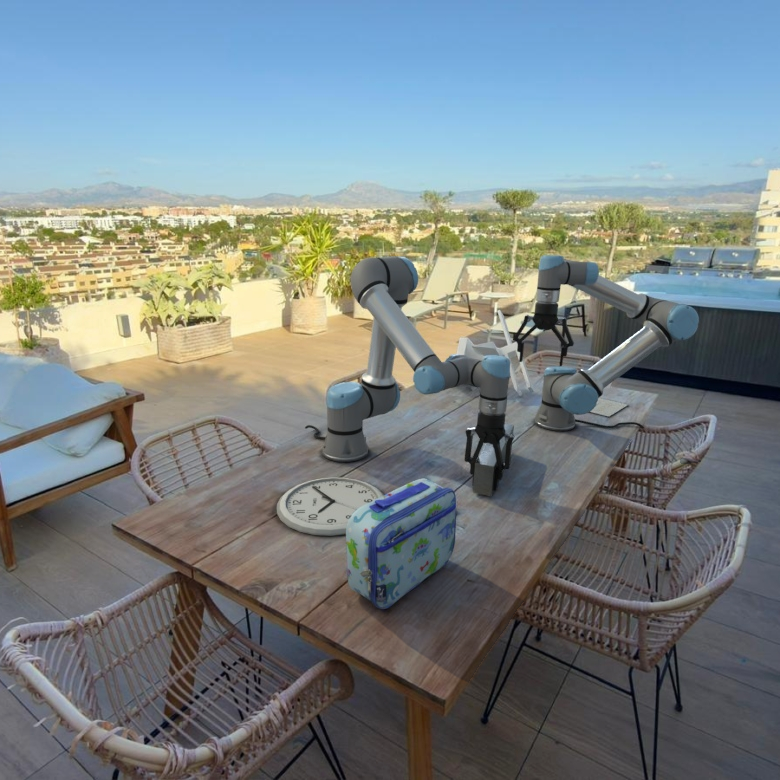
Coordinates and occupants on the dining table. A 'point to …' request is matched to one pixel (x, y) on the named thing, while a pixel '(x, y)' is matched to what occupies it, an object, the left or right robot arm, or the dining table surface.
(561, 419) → the right robot arm
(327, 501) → the wall clock
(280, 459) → the dining table surface
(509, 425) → the bar
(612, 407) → the invitation card
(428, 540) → the lunch box
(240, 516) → the dining table surface
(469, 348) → the white plastic object
